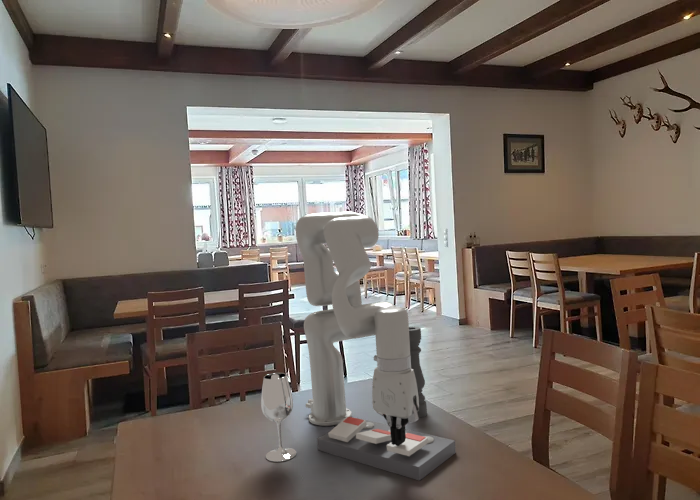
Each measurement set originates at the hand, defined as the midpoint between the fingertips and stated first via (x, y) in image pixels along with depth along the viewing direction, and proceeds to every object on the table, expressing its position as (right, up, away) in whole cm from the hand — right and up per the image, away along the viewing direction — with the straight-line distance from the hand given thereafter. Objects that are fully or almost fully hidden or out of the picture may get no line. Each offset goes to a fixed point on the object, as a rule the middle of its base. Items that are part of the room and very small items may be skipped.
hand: (398, 442), depth 119 cm
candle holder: (+8, -4, +34) cm, 35 cm away
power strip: (-4, -6, +12) cm, 14 cm away
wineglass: (-28, -8, +12) cm, 32 cm away
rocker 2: (-5, -1, +8) cm, 9 cm away
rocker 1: (-11, -1, +14) cm, 18 cm away
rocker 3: (+2, -1, +2) cm, 3 cm away
